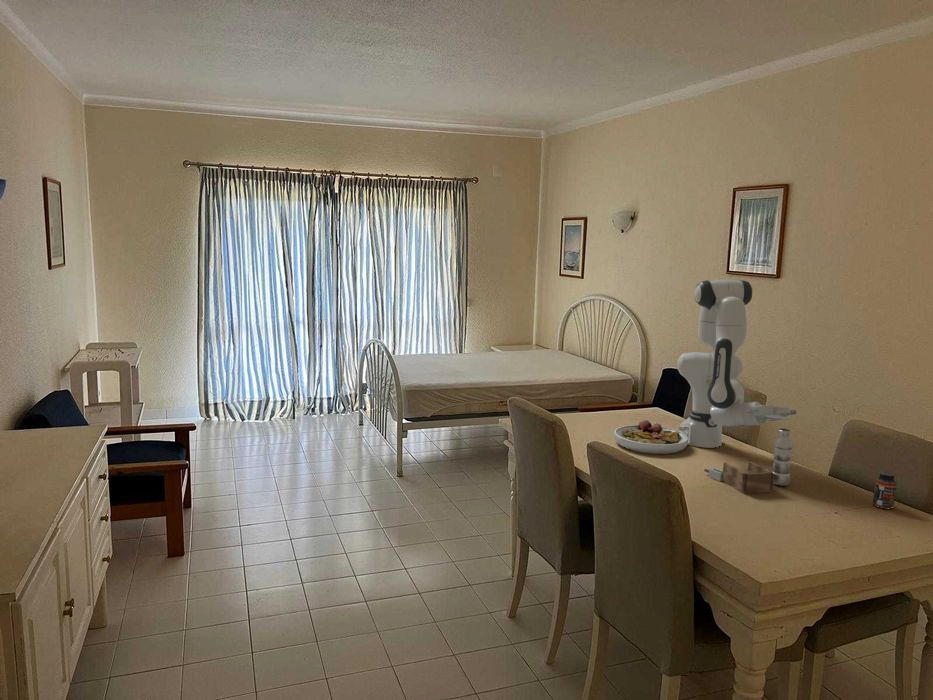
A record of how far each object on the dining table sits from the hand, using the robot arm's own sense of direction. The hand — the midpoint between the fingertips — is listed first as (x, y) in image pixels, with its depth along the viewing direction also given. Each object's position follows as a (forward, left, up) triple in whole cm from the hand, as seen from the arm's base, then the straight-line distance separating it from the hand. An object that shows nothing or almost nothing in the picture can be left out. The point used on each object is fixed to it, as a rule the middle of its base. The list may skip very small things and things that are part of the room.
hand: (793, 411), depth 257 cm
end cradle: (+11, -24, -24) cm, 35 cm away
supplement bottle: (+35, +10, -24) cm, 44 cm away
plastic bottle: (+11, -11, -24) cm, 29 cm away
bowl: (-41, -35, -24) cm, 59 cm away
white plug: (+2, -30, -24) cm, 38 cm away
